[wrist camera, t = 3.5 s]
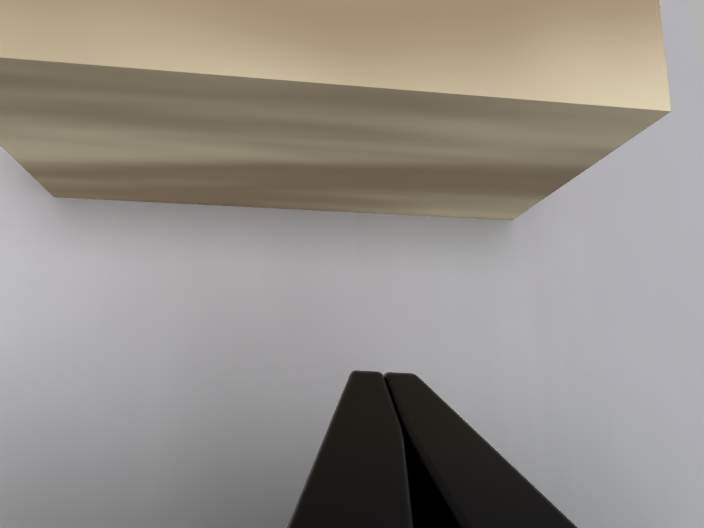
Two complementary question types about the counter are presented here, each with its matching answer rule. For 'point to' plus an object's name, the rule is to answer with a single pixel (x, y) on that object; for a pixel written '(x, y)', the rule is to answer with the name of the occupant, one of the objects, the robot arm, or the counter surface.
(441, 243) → the counter surface
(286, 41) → the oak plank
